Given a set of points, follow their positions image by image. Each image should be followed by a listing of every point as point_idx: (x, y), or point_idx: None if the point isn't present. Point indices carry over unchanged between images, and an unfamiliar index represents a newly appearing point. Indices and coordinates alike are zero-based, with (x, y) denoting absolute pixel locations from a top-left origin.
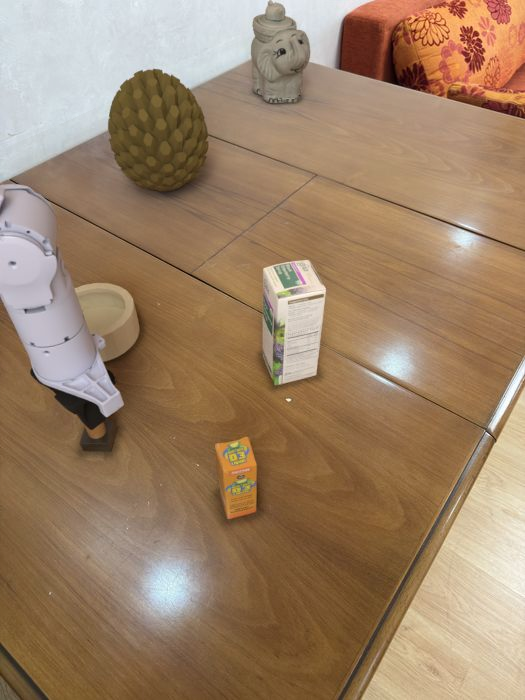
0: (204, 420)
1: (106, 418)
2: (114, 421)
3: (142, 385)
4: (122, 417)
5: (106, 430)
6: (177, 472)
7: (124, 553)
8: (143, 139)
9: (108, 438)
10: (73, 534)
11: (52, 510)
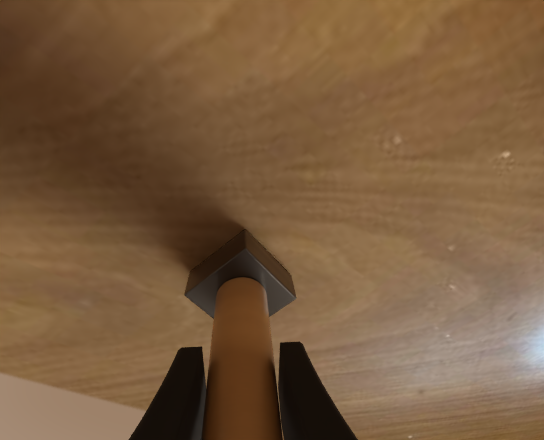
0: (442, 17)
1: (300, 342)
2: (247, 249)
3: (149, 64)
4: (221, 197)
5: (257, 280)
6: (468, 204)
7: (471, 358)
8: None
9: (283, 288)
10: (372, 391)
11: None
